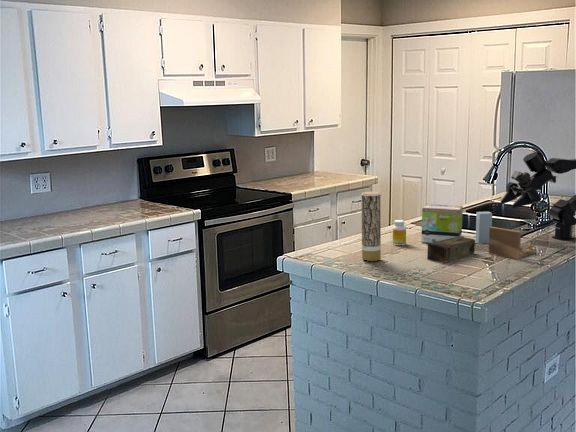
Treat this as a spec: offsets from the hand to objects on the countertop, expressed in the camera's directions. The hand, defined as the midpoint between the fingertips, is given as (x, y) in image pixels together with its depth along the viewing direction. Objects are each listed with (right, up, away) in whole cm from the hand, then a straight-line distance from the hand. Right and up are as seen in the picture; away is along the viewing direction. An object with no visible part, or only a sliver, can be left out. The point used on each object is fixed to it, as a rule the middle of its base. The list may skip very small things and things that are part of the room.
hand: (506, 205), depth 243 cm
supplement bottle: (-42, -16, +5) cm, 45 cm away
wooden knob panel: (-3, -18, -14) cm, 23 cm away
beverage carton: (-26, -20, -16) cm, 36 cm away
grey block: (-8, -15, +5) cm, 17 cm away
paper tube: (-56, -21, -17) cm, 62 cm away
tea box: (-24, -15, +8) cm, 29 cm away
